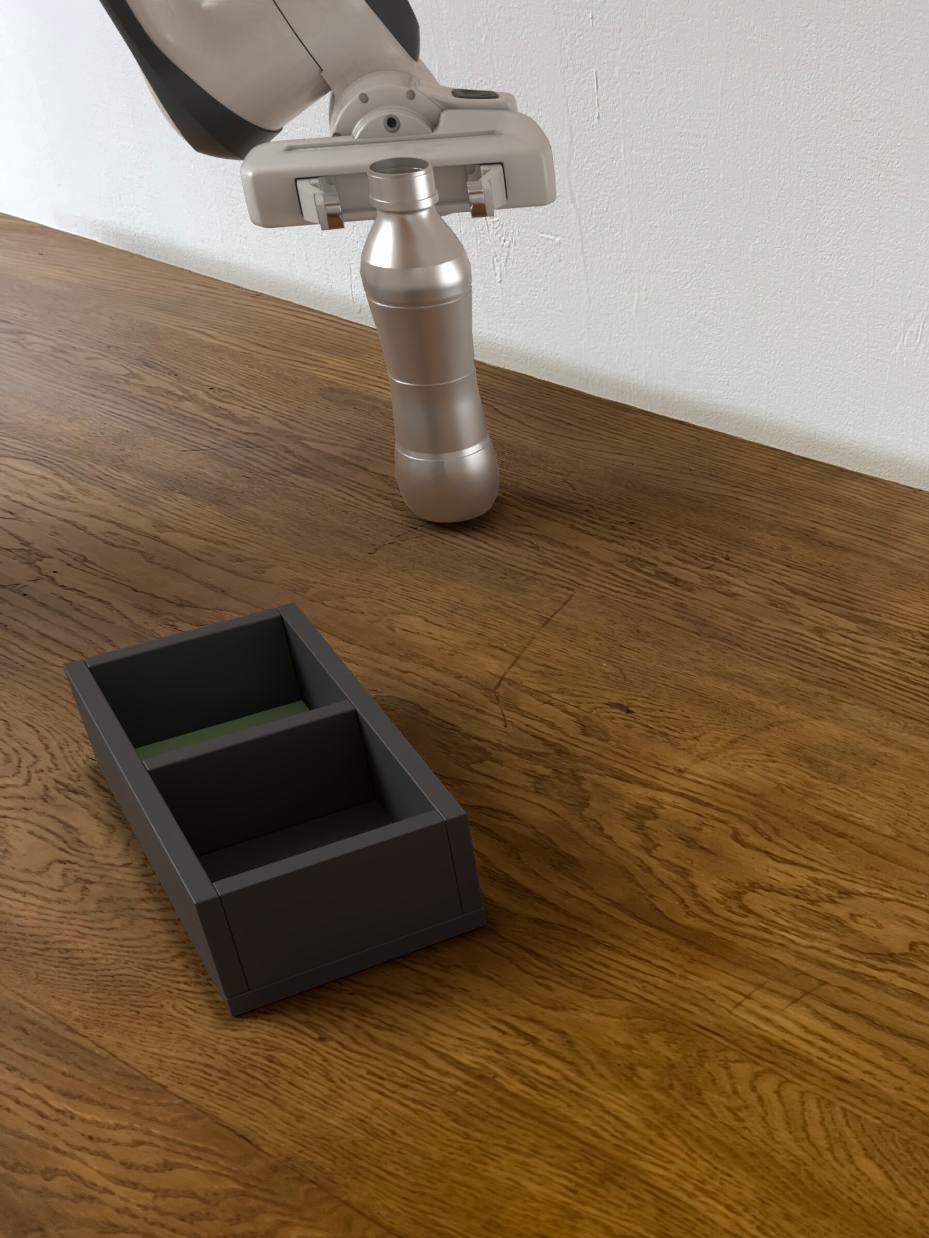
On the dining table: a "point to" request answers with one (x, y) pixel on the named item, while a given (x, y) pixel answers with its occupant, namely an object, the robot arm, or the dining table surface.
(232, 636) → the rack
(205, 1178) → the dining table surface
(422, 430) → the silver metal bottle
